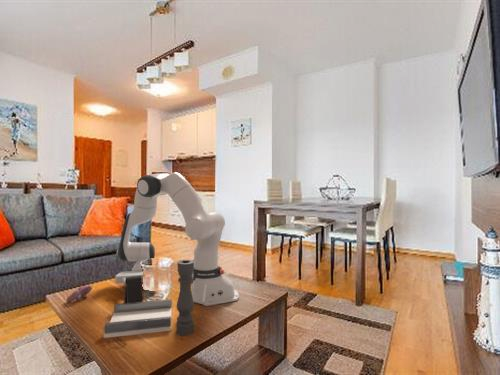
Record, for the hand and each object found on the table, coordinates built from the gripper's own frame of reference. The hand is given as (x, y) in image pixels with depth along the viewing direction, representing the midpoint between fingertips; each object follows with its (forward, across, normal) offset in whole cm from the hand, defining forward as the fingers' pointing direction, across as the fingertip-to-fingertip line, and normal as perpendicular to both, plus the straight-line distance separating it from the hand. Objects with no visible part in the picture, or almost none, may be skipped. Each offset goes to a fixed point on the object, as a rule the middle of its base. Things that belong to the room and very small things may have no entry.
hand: (136, 282), depth 131 cm
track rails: (+24, +5, +7) cm, 26 cm away
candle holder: (+35, +21, +7) cm, 41 cm away
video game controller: (-3, -24, +7) cm, 25 cm away
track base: (+24, +5, +7) cm, 26 cm away
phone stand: (+8, 0, +7) cm, 11 cm away
